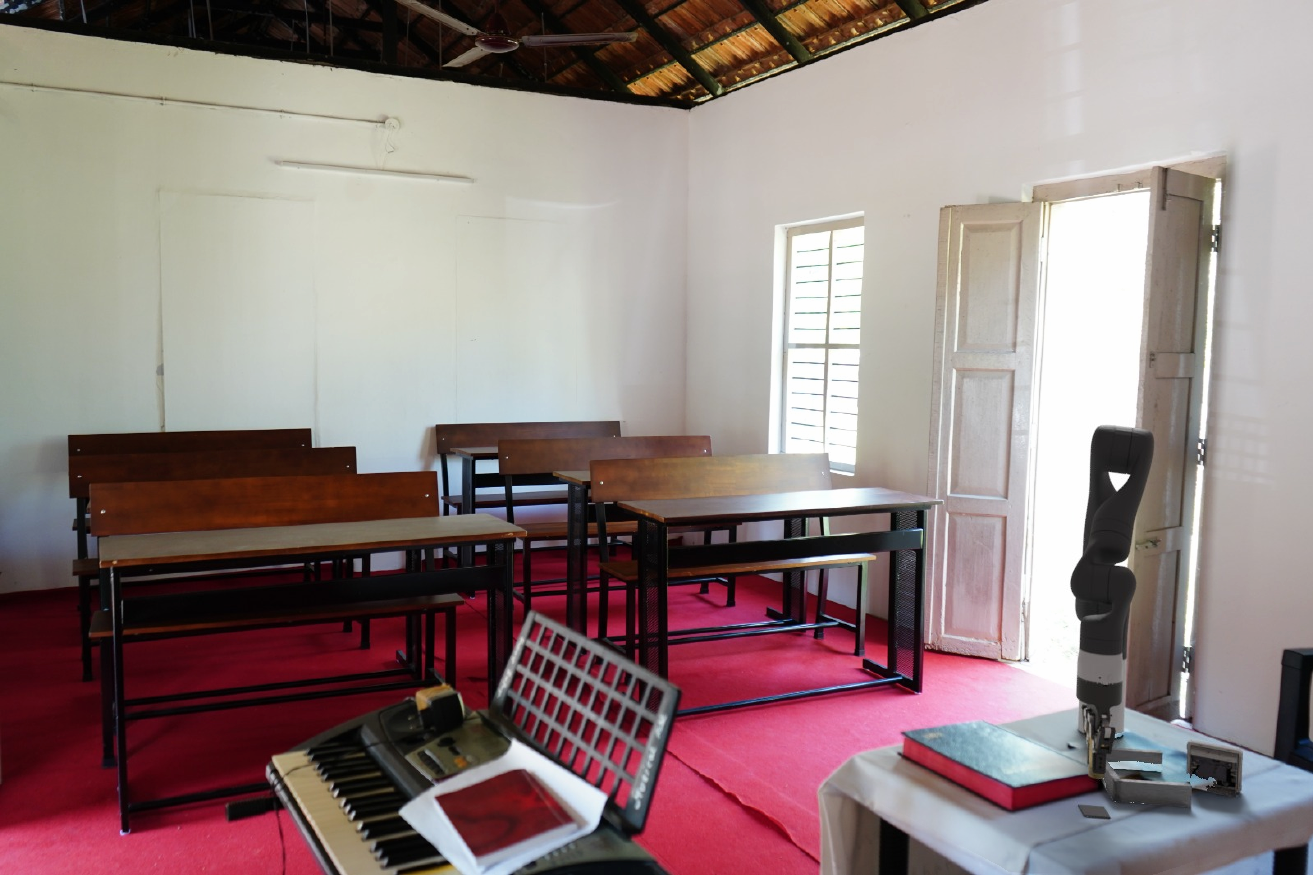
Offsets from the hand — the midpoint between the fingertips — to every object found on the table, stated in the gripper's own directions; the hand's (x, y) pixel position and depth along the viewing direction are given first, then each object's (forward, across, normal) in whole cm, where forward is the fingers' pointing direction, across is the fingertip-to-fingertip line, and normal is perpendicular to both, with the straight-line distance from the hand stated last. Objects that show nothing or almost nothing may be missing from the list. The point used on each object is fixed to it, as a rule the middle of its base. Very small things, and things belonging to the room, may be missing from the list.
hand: (1096, 769), depth 180 cm
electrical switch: (+8, -14, +25) cm, 30 cm away
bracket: (+8, -14, +12) cm, 20 cm away
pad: (+8, 0, 0) cm, 8 cm away
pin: (+1, 0, 0) cm, 1 cm away
